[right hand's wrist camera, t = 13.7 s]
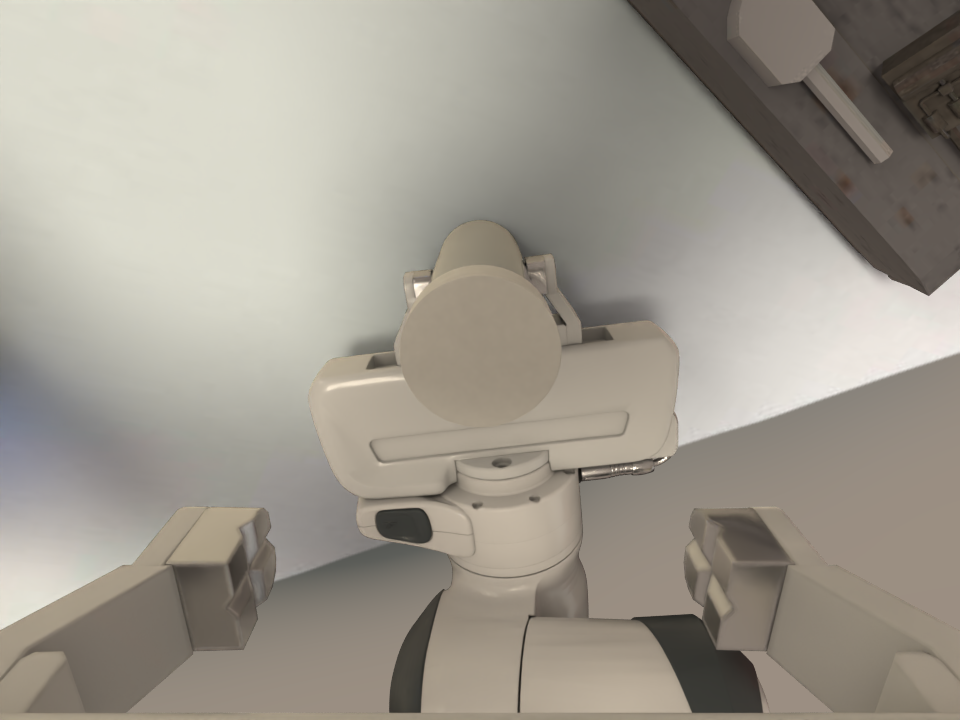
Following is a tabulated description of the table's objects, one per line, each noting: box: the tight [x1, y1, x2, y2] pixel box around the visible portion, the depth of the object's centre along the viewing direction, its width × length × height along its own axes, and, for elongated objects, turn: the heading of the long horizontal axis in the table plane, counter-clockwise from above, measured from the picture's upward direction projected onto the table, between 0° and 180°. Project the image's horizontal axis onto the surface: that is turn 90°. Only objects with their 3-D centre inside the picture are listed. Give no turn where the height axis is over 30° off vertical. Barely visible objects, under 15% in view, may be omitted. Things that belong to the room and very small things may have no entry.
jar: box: [428, 220, 532, 285], centre depth 28 cm, size 5×5×16 cm
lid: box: [399, 265, 562, 427], centre depth 21 cm, size 6×6×2 cm
